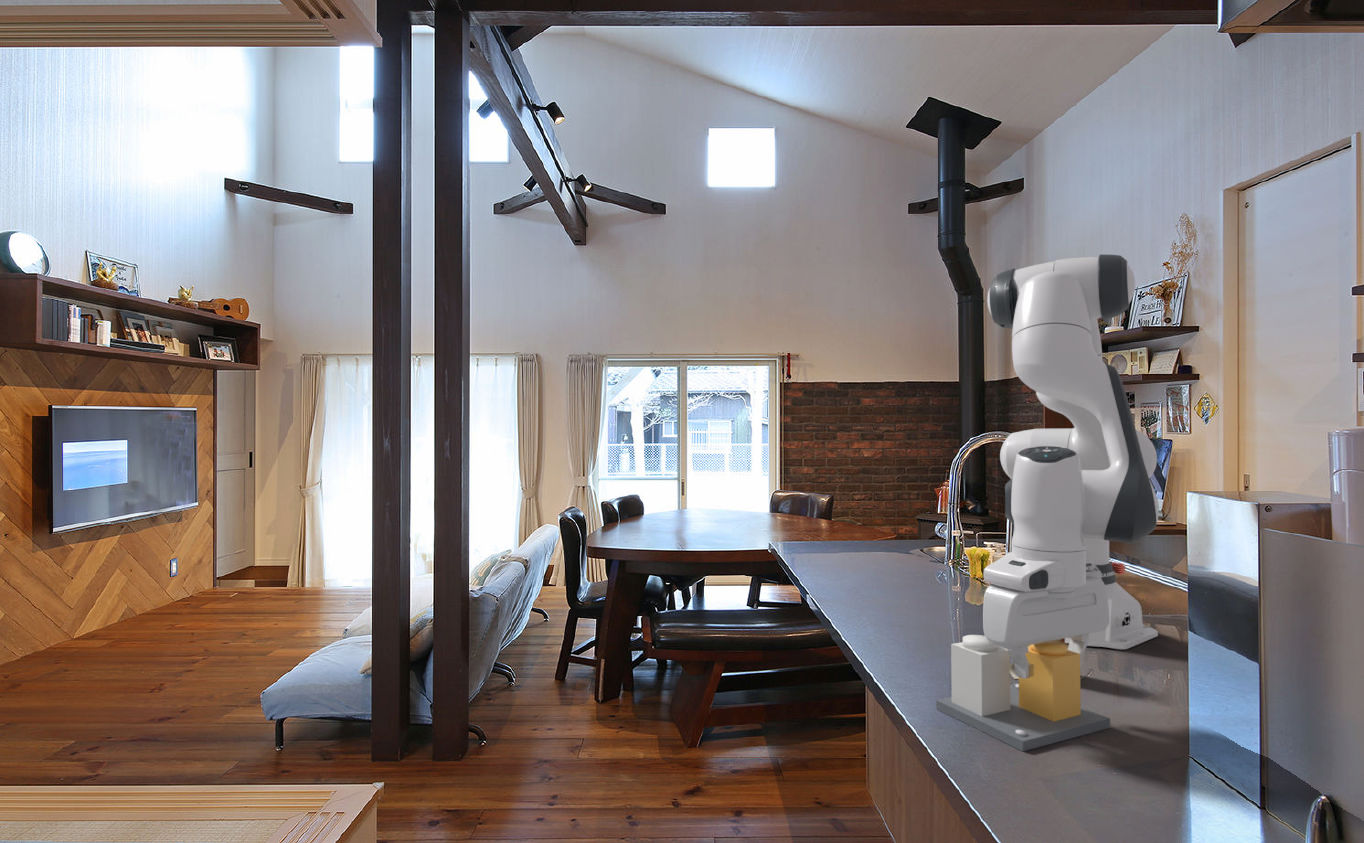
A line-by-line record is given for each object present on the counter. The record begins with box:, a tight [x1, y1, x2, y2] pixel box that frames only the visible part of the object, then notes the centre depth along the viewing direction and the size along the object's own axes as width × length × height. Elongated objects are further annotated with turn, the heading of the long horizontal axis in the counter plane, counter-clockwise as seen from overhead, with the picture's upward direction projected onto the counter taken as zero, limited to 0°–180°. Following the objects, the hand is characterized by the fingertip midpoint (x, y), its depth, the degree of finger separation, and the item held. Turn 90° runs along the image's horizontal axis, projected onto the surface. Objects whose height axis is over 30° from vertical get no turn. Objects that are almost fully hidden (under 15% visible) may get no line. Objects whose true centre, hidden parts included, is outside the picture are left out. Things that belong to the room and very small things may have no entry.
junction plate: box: [935, 634, 1111, 752], centre depth 93 cm, size 16×14×10 cm
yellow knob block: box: [1018, 640, 1082, 722], centre depth 92 cm, size 5×5×9 cm
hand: (1049, 671), depth 93 cm, fingers open, 8 cm apart
